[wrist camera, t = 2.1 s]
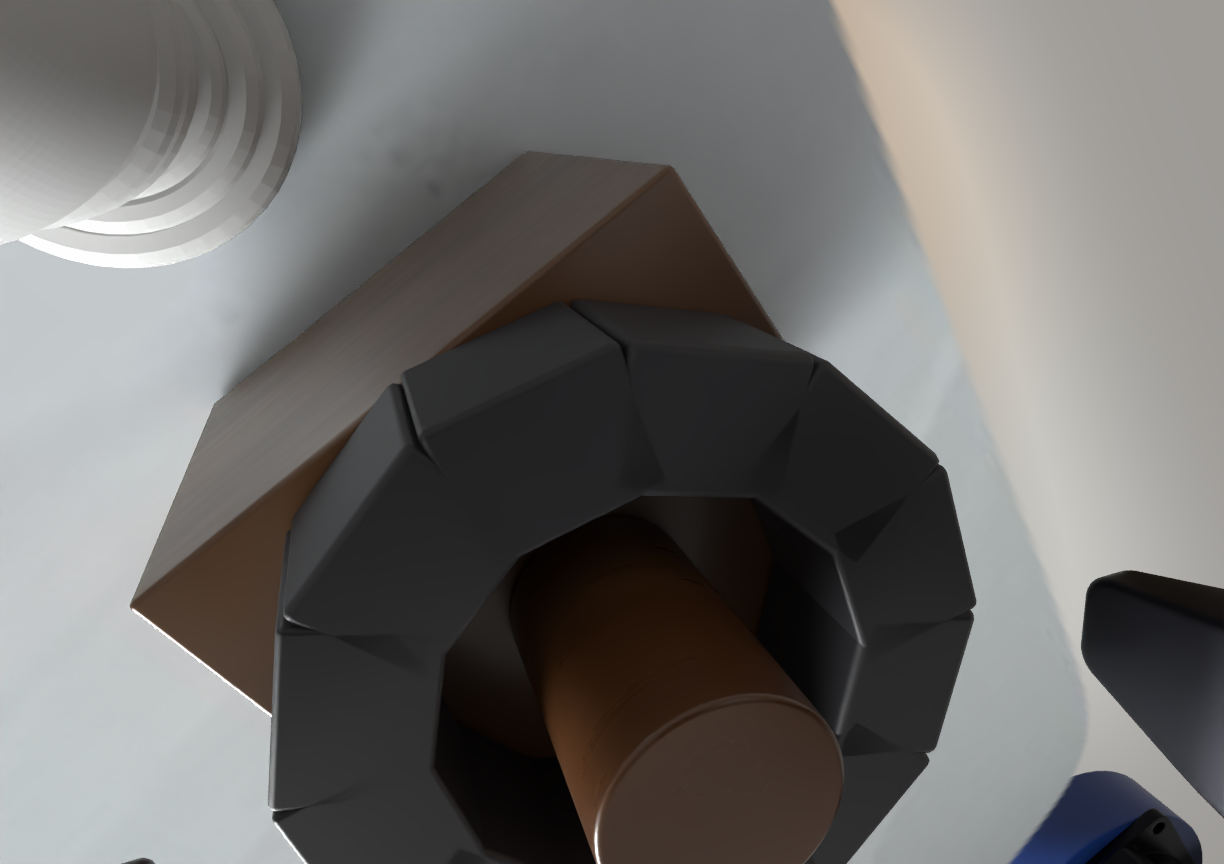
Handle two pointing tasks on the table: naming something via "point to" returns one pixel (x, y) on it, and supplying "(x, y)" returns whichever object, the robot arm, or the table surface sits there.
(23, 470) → the table surface
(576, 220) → the peg stand
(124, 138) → the chess piece
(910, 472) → the tape roll
